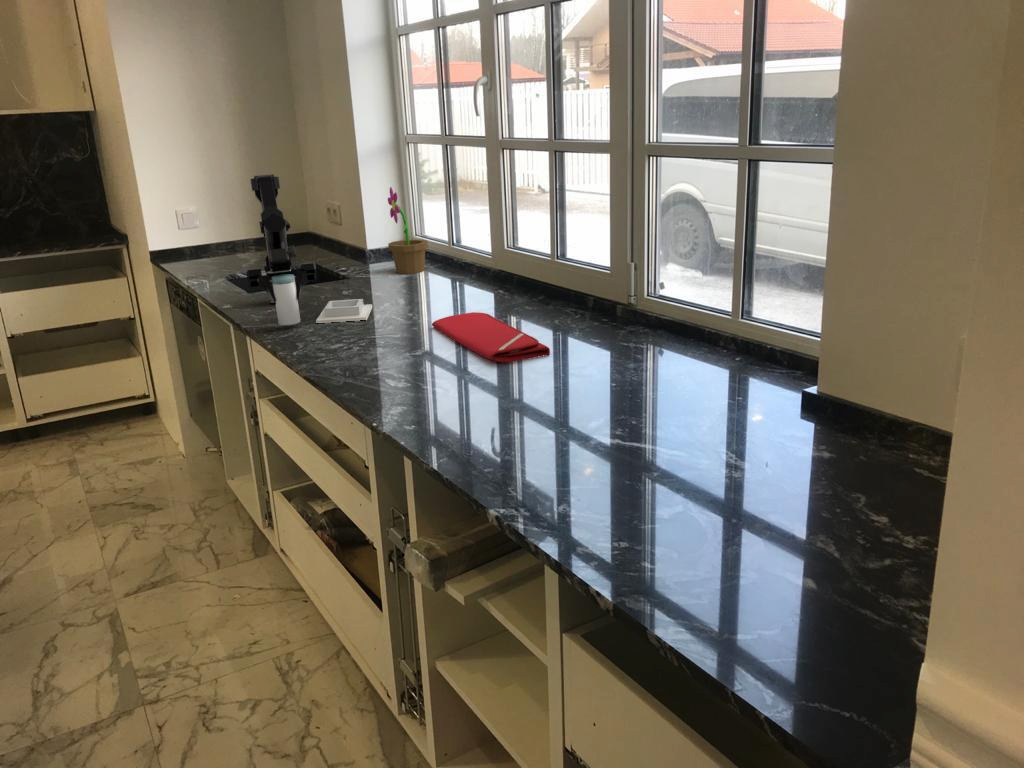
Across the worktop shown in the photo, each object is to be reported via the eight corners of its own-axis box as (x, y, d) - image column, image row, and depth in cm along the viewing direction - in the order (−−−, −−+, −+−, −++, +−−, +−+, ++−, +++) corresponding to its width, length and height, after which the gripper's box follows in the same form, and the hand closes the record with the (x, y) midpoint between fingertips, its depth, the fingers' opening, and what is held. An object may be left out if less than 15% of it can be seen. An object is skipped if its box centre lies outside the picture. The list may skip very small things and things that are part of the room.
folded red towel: (485, 320, 234) (484, 307, 233) (552, 356, 198) (551, 341, 197) (431, 329, 228) (430, 315, 227) (490, 368, 192) (489, 352, 191)
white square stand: (325, 310, 253) (323, 299, 252) (372, 307, 254) (371, 296, 253) (316, 324, 238) (314, 311, 237) (366, 320, 239) (364, 308, 237)
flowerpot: (385, 270, 309) (376, 186, 299) (422, 265, 314) (415, 182, 304) (397, 277, 296) (388, 189, 287) (436, 271, 302) (428, 185, 292)
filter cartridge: (288, 318, 240) (281, 273, 236) (304, 320, 238) (298, 274, 233) (273, 324, 235) (267, 278, 231) (290, 325, 233) (284, 279, 228)
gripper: (241, 240, 230) (248, 288, 224) (311, 233, 235) (320, 279, 229) (245, 263, 240) (252, 310, 233) (312, 256, 245) (321, 302, 238)
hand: (286, 300), depth 233 cm, fingers closed on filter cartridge, 6 cm apart
